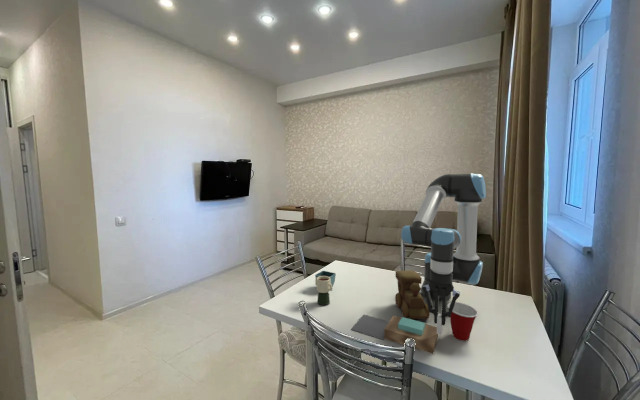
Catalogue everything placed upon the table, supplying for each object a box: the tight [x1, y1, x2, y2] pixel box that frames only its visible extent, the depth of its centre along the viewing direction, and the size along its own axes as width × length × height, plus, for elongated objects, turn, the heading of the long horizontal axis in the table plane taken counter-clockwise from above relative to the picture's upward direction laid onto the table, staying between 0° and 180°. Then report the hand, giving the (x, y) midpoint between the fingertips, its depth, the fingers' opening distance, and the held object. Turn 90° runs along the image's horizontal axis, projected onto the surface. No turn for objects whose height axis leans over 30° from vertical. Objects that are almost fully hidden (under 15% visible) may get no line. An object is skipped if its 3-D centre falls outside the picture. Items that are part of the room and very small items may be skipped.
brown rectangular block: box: [384, 315, 439, 355], centre depth 107 cm, size 18×12×4 cm, turn 59°
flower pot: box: [315, 270, 337, 288], centre depth 153 cm, size 9×9×9 cm
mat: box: [350, 314, 390, 341], centre depth 115 cm, size 14×14×1 cm
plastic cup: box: [447, 301, 479, 342], centre depth 107 cm, size 11×11×12 cm
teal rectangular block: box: [398, 316, 426, 335], centre depth 106 cm, size 9×6×2 cm, turn 59°
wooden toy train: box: [394, 270, 431, 320], centre depth 126 cm, size 20×11×17 cm, turn 0°
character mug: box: [314, 276, 333, 306], centre depth 136 cm, size 11×7×13 cm, turn 48°
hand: (439, 332), depth 101 cm, fingers closed
